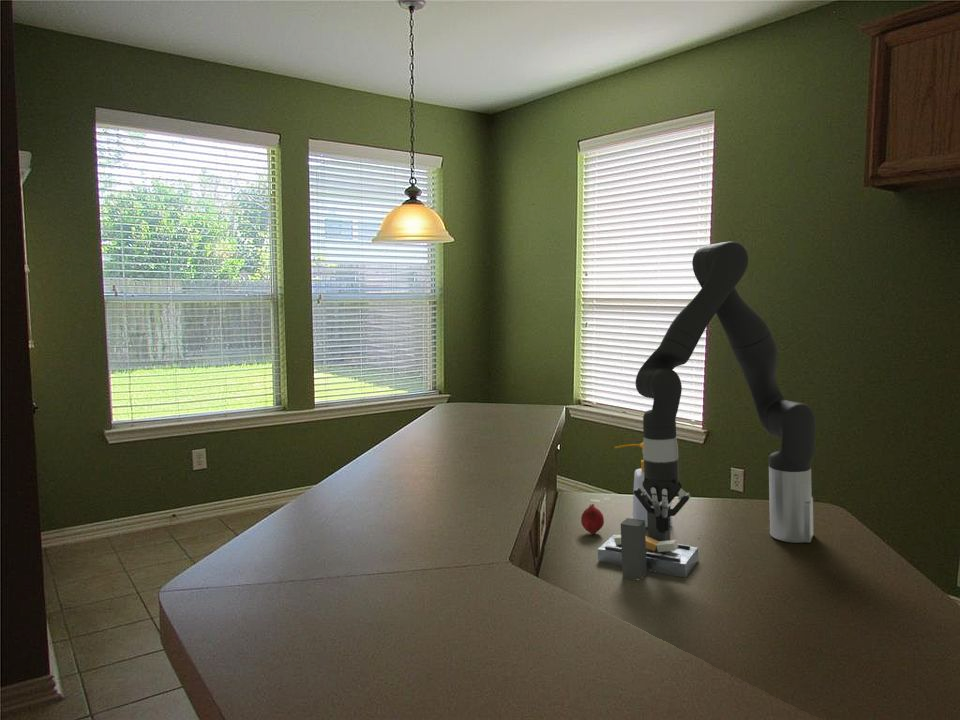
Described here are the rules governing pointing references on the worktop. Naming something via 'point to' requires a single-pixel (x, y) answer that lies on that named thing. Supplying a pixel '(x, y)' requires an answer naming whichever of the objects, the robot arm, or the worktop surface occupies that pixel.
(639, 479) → the soap bottle
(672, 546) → the paddle
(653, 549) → the orange block
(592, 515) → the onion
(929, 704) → the worktop surface
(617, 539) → the paddle
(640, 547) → the cord post
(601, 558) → the breaker panel
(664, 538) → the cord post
